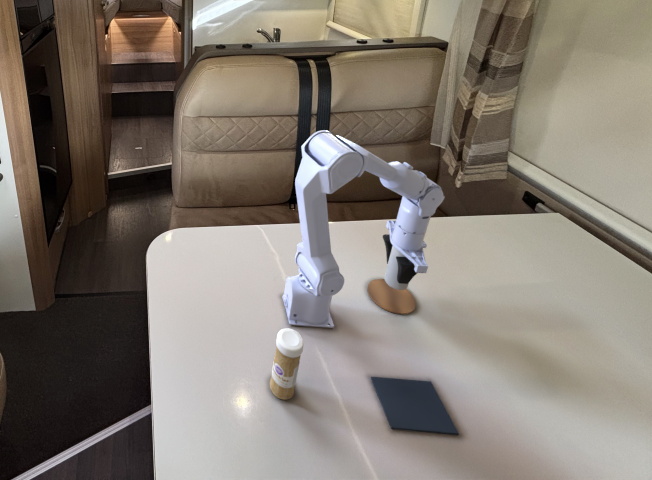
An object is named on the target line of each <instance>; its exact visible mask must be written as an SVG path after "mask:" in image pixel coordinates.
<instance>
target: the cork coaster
mask: <svg viewBox="0 0 652 480" xmlns="http://www.w3.org/2000/svg"><path fill="white" fill-rule="evenodd" d="M366 289H367V294H368V297H369V298H370V300H372V301H373V303H374V304H375V305H376V306H378V307H379V308H380V309H382V310H384V311H387V312H389V313H392V314H394V315H402V316H403V315H409V314H411V313H413V312H414V311H415V309H416V307H417V302H416V299H415V297H414V295H413V294H412V293H411V292H410V291H409V290H408V288H406V289H404V290H397V289H394V288H392V287H390V286H389V285H388V284H387V283H386V281H385V279H384V278H375V279H373V280H371V281H369V283H368V285H367V288H366Z"/></svg>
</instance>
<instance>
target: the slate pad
mask: <svg viewBox="0 0 652 480" xmlns="http://www.w3.org/2000/svg"><path fill="white" fill-rule="evenodd" d="M370 380H371V383H372V386H373V388H374V391H375V393H376V396H377V397H378V399H379V402H380V405H381V407H382V410H383V412H384V415H385V417H386V420H387V422H388V424H389V426H390V429H391V430H397V431H406V432H418V433H427V434H440V435H450V436H459V434H460V433H459V431H458V429H457V427H456V425H455V424H454V421H453V420H452V418H451V416H450V414H449V413H448V410H447V408H446V407H445V405H444V403H443V401H442V399H441V398H440V395H439V394H438V392H437V390H436V388H435V386H434V385H433V382H432V381H430V380H420V379H419V380H418V379H405V378H395V377H394V378H393V377H381V376H370Z"/></svg>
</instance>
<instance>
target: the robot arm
mask: <svg viewBox="0 0 652 480" xmlns="http://www.w3.org/2000/svg"><path fill="white" fill-rule="evenodd" d="M300 149H301V157H302V158H301V160H300V164H299V167H298V170H297V173H296V177H295V180H294V181H295V182H294V186H295V187H294V188H295V194H296V202H297V210H298V218H299V225H300V234H301V240H302V241H300V242H298V243H297V244H296V249H297V250H296V252H295V255H294V262H295V264H296V266H298V271H297V272H298V274H296V275H292V276H287V277H286V278H285V284H284V291H283V294H282V301H283V304H284V309H285V312H286V316H287V320H288V323H289V325H291V326H299V327H313V328H327V329H334V328H335V324H334V321H333V319H332V316H331V313H330V308H331V304H332V298H333V296H335V295H337V294H338V293H340V291H341V290H342V289H343V287H344V285H345V276H344V275H343V274H342V273H341V272H340V266H339V265H338V262H337V261H336V259H335V257H334V254H333V253H332V245H331V244H332V243H331V235H330V233H331V232H330V224H329V213H328V212H329V211H328V201H327V195H332V194H333V193H335V192H336V191H338V190H340V188H342V187H344V186H345V185H346V184H348V183H349V182H351V181H352V180H354V179H355V178H356V177H357V178H360V177H361V176H362V175H363V174H364V172H365V171H366V172H367V173H369V174H371V175H374V176H376V177H378V178H379V181H380V183H381V185H382V186H383V187H385V188H386V189H388V190H390V191H392V192H394V193H396V194H397V195H400V196H402V197H401V200H400V205H399V208H398V212H397V215H396V220H390V219H389V220H387V221H386V224H385V228H386V229H387V230H388V233H389V234H387V233H386V234H383V235H382V239H383V243H384V246H385V252H386V253H385V254H386V264H387V265H388V261H389V257H390V254H391V250H392V246H394V247H395V248H396V249H397V250H399V251H400V252H401V253H402V254H403V255H404V256H405V257H398V256H396V259H397V263H398V274H397V281H398V283H400V284H408V283H410V282H411V281H412V280H413V278H414V277H415V276H416V275H417V274H427V271H428V268H429V265H428V264H427V261H426V258H425V253H424V252H425V251H424V249H427V247H428V244H427V243H426V242H425V236H426V233H427V230H428V227H429V223H430V221H431V217H432V216H434V214H435V213H436V210H437V209H438V208H439V206H440V205H442V203H443V202H444V200H445V197H446V196H445V195H444V192H443V190H442V187H441V186H440V185H439V184H437V183H436V182H434V181H433V180H432V179H430V178H428V177H427V174H425V173H424V172H422V171H419V170H416V169H415V170H414V167H413V166H412V165H411V164H409V163H408V162H406V161H403V163H401V162H399V161H390V162H387V161H385V160H384V159H382V158H381V157H379V156H377V155H375V154H373V152H370V151H369V150H367V149H366V148H364V147H362V146H361V145H359V144H357V143H354V142H353V141H351V140H349V139H347V138H345V137H343V136H341V135H337V134H335V135H334V134H333V133H332V132H331V131H329V130H325V129H323V130H318V131H315V132H314V133H312V134H311V135H310V136H309V137H308V138H307V139H306V141H304V143H303V144H302V145H301V146H300ZM408 285H409V284H408Z"/></svg>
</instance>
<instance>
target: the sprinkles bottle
mask: <svg viewBox="0 0 652 480" xmlns="http://www.w3.org/2000/svg"><path fill="white" fill-rule="evenodd" d="M275 339H276V340H275V345H276V346H275V352H274V358H273V362H272V368H271V376H270V380H269V389H270V391H271V393H272V394H273V395H274V396H275V397H276V398H277V399H280V400H285V401H286V400H289V399H291V398H293V397H294V395H295V386H296V383H297V379H298V378H297V377H298V372H299V367H300V363H301V362H300V360H301V355H302V354H303V351H304V345H305V341H304V339H303V337H302V335H301V334H300V333H299V332H298V331H296V330H295V329H293V328H288V327H285V328H281V329H280V330H279V331H278V332H277V334H276V338H275Z"/></svg>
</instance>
